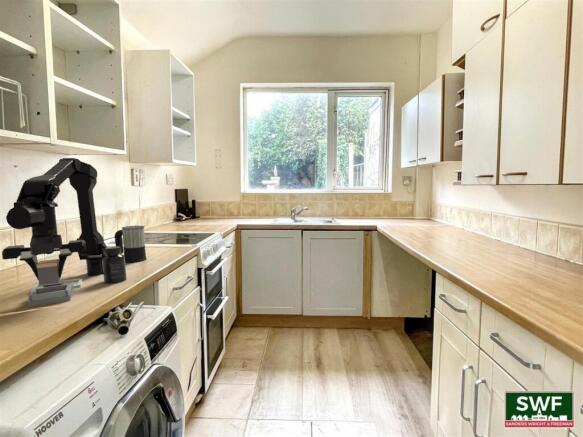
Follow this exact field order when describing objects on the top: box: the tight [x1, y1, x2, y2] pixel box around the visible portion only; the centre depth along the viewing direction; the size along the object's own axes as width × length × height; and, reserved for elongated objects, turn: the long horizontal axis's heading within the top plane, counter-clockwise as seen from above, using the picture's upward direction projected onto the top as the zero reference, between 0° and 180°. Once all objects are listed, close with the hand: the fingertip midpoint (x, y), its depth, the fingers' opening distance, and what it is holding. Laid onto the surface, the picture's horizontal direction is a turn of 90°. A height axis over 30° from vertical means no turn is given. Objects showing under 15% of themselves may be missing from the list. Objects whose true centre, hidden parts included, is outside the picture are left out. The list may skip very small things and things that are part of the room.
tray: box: [29, 277, 83, 294], centre depth 110 cm, size 9×13×1 cm
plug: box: [37, 258, 61, 285], centre depth 97 cm, size 5×5×6 cm
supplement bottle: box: [102, 245, 127, 285], centre depth 115 cm, size 7×7×12 cm
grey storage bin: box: [27, 279, 75, 308], centre depth 100 cm, size 12×10×4 cm
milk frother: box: [114, 225, 148, 263], centre depth 145 cm, size 14×16×15 cm
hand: (49, 278), depth 97 cm, fingers closed on plug, 4 cm apart
